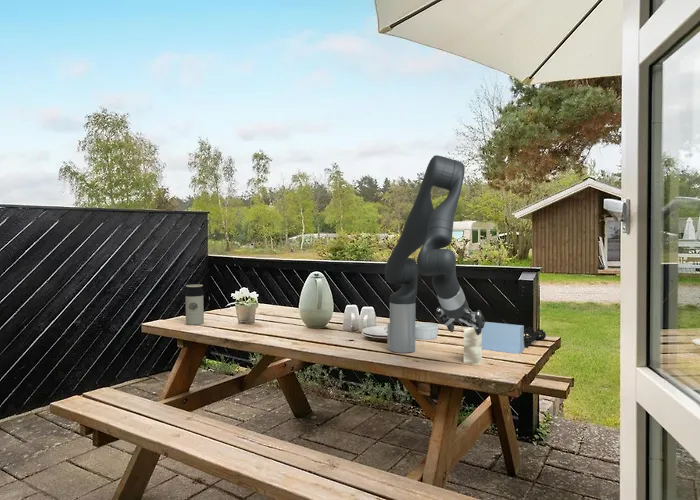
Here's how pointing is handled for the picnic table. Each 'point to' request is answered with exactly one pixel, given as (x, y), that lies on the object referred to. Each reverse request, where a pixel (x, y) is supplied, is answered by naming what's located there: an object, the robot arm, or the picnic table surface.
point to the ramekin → (426, 331)
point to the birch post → (472, 347)
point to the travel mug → (194, 304)
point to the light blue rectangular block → (503, 337)
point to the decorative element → (532, 336)
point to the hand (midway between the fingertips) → (465, 331)
